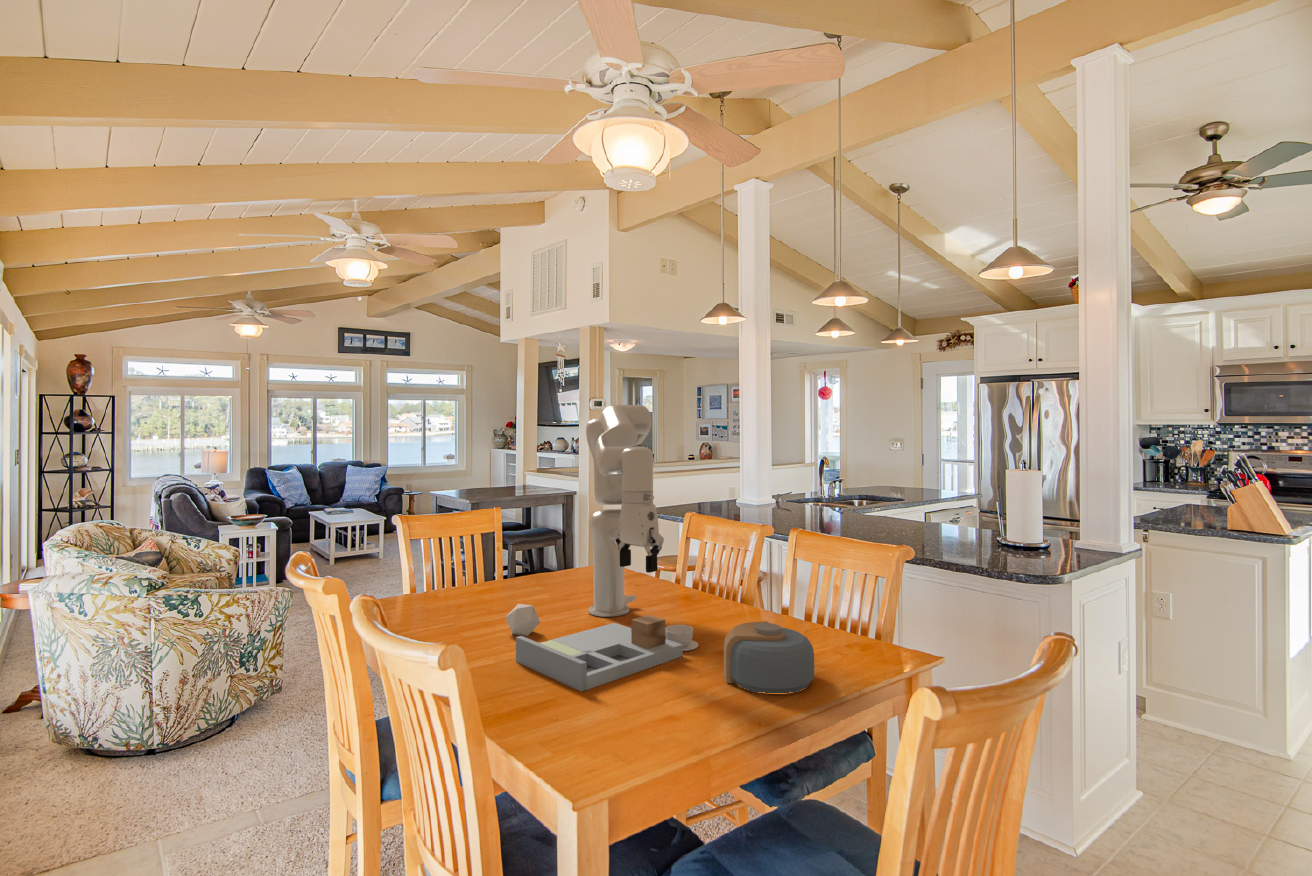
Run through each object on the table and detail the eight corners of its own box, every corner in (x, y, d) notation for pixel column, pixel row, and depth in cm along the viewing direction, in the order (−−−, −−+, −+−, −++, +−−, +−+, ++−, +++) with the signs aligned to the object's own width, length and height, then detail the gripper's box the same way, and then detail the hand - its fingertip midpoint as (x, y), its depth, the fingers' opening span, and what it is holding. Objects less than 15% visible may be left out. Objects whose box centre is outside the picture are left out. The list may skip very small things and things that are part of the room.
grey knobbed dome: (752, 658, 163) (752, 609, 163) (828, 677, 151) (828, 624, 151) (707, 681, 149) (707, 628, 148) (788, 705, 136) (788, 646, 136)
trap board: (614, 633, 184) (614, 611, 184) (682, 656, 165) (682, 632, 165) (515, 661, 162) (515, 637, 162) (581, 691, 143) (581, 663, 143)
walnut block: (649, 638, 170) (648, 614, 170) (665, 643, 166) (665, 619, 166) (631, 643, 166) (631, 619, 166) (647, 649, 161) (647, 624, 161)
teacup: (695, 654, 167) (695, 635, 167) (656, 651, 169) (656, 633, 169) (700, 641, 177) (700, 624, 177) (664, 639, 179) (664, 622, 179)
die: (545, 633, 186) (535, 602, 191) (537, 626, 178) (528, 594, 183) (517, 645, 185) (508, 613, 190) (509, 638, 178) (499, 605, 182)
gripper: (673, 499, 158) (674, 571, 158) (626, 495, 170) (627, 562, 170) (649, 501, 152) (650, 576, 152) (603, 497, 165) (604, 566, 165)
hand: (638, 568), depth 161 cm, fingers open, 9 cm apart
